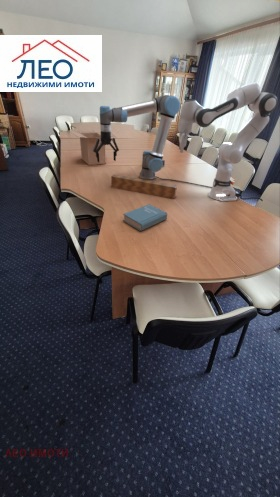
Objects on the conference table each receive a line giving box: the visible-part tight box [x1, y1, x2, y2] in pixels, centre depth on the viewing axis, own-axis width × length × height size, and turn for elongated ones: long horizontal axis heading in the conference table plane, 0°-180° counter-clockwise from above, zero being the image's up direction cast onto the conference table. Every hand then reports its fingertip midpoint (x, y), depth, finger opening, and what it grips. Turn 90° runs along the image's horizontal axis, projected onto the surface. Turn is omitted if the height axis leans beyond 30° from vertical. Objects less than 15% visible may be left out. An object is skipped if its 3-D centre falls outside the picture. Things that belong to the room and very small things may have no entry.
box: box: [70, 129, 114, 166], centre depth 229 cm, size 44×36×27 cm
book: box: [122, 203, 168, 232], centre depth 138 cm, size 23×16×5 cm
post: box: [110, 174, 178, 200], centre depth 175 cm, size 52×5×9 cm, turn 72°
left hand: (106, 161), depth 174 cm, fingers open, 13 cm apart
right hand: (180, 151), depth 154 cm, fingers open, 8 cm apart
